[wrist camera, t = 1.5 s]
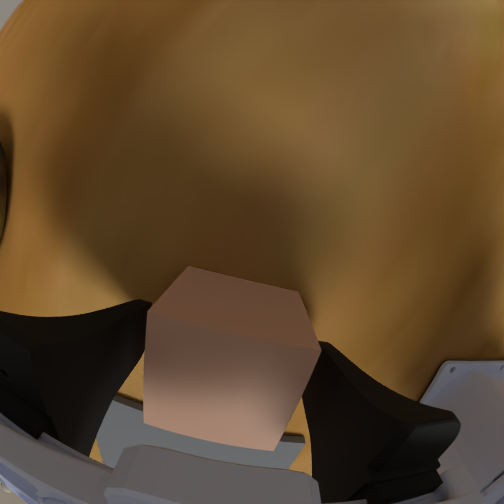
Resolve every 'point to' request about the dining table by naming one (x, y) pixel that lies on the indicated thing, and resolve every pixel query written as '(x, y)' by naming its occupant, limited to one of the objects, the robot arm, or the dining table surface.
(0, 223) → the potato
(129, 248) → the dining table surface
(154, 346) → the cube
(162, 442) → the mat
